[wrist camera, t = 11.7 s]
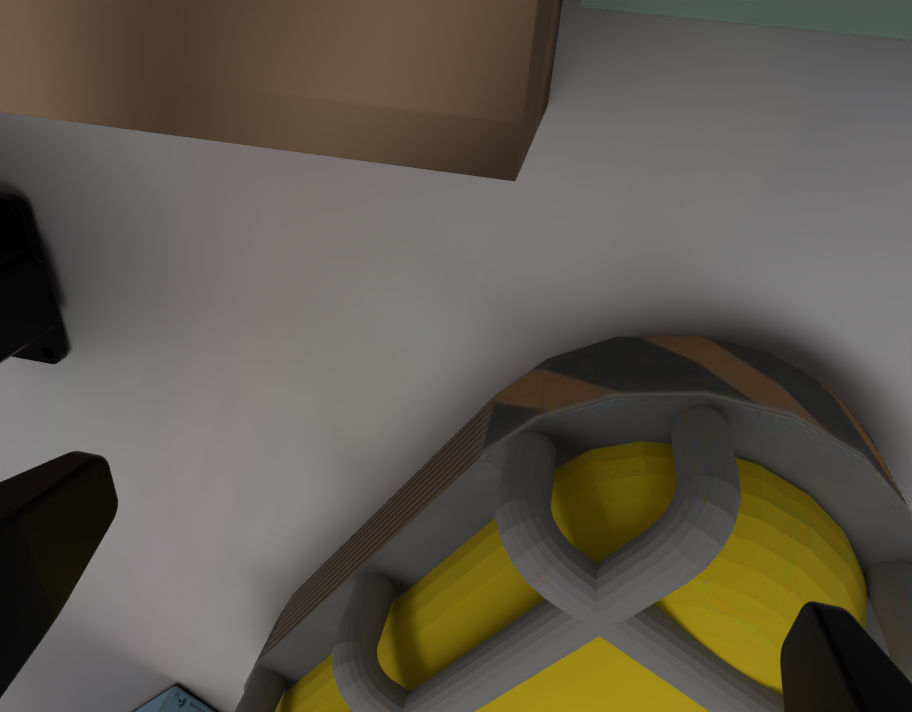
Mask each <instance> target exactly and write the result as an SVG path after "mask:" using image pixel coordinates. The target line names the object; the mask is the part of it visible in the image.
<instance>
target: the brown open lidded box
mask: <svg viewBox="0 0 912 712" xmlns="http://www.w3.org/2000/svg"><path fill="white" fill-rule="evenodd" d="M561 6H562V0H0V112H5V113H12V114H19V115H27V116H34V117H42V118H49V119H57V120H64V121H71V122H79V123H86V124H94V125H101V126H109V127H116V128H123V129H131V130H138V131H146V132H153V133H161V134H168V135H175V136H183V137H190V138H198V139H205V140H213V141H220V142H227V143H235V144H242V145H250V146H257V147H265V148H272V149H279V150H287V151H294V152H302V153H309V154H317V155H324V156H331V157H339V158H346V159H354V160H361V161H369V162H376V163H383V164H391V165H398V166H406V167H413V168H421V169H428V170H435V171H443V172H450V173H458V174H465V175H473V176H480V177H487V178H495V179H502V180H510V181H516V178H517V176H518V174H519V171H520V169H521V167H522V164H523V162H524V160H525V157H526V155H527V153H528V150H529V148H530V146H531V143H532V141H533V139H534V136H535V134H536V132H537V129H538V127H539V125H540V122H541V120H542V118H543V115H544V113H545V111H546V108H547V105H548V98H549V91H550V84H551V77H552V70H553V63H554V55H555V48H556V41H557V34H558V27H559V20H560V13H561Z"/></svg>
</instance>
